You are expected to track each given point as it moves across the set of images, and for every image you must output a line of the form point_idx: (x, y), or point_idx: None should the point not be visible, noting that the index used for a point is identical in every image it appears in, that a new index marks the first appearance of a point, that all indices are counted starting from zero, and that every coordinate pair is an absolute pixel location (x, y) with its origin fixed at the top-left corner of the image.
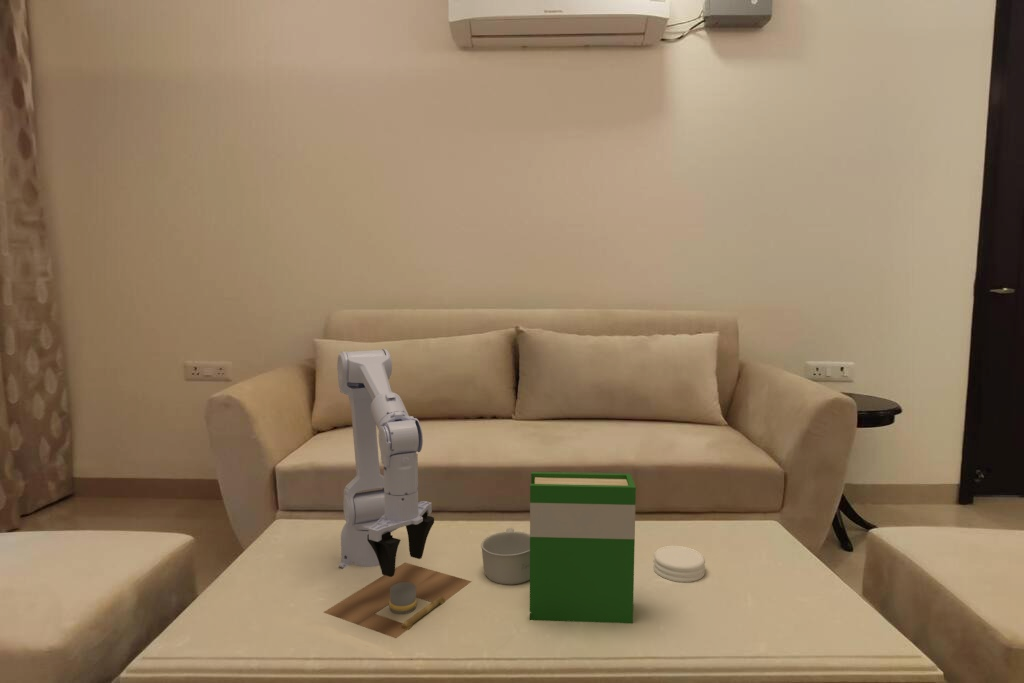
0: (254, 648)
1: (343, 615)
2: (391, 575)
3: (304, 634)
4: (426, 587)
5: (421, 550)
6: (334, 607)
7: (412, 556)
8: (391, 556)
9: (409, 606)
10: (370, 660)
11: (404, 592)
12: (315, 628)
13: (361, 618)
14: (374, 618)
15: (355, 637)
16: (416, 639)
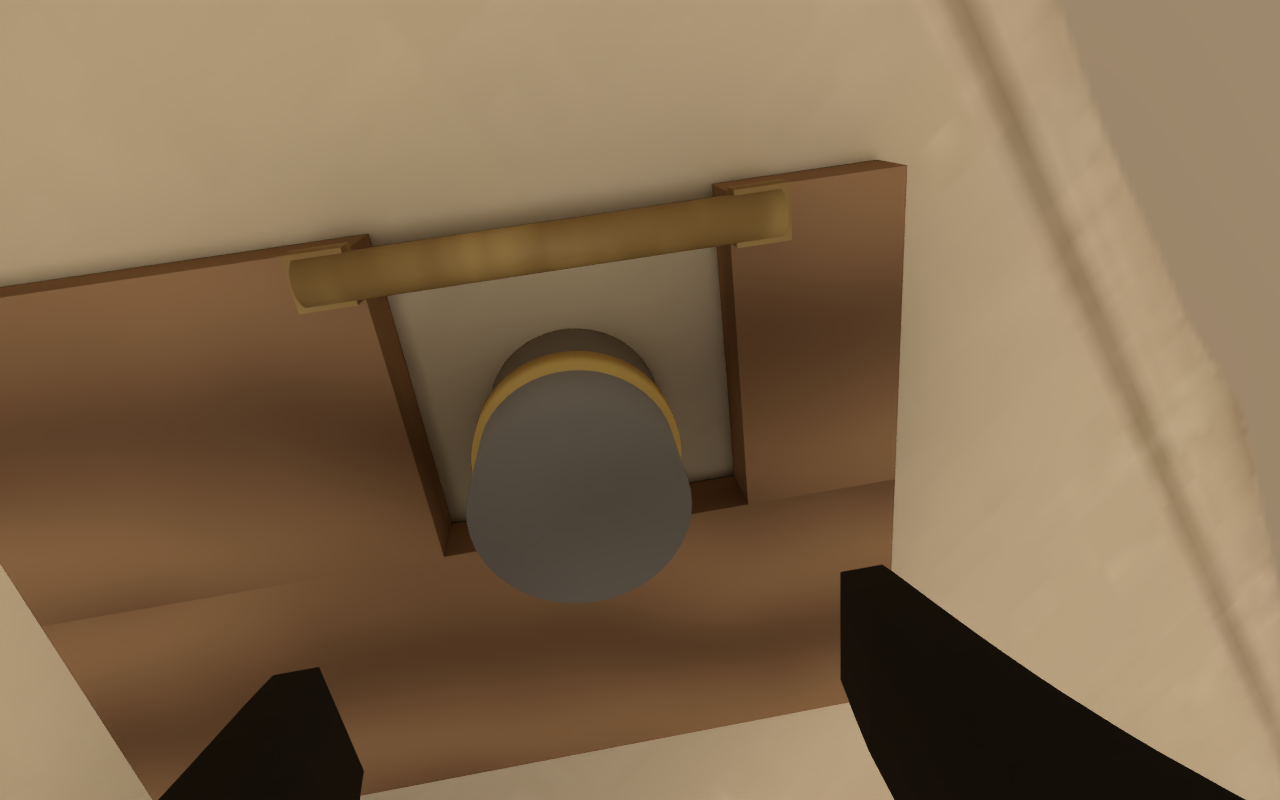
0: (1167, 670)
1: None
2: (893, 573)
3: (1000, 623)
4: (263, 514)
5: (250, 761)
6: (823, 694)
7: (352, 759)
8: (1220, 789)
9: (603, 363)
10: (1060, 181)
11: (624, 452)
12: None
13: (832, 517)
14: (790, 463)
15: (909, 433)
16: (734, 112)
